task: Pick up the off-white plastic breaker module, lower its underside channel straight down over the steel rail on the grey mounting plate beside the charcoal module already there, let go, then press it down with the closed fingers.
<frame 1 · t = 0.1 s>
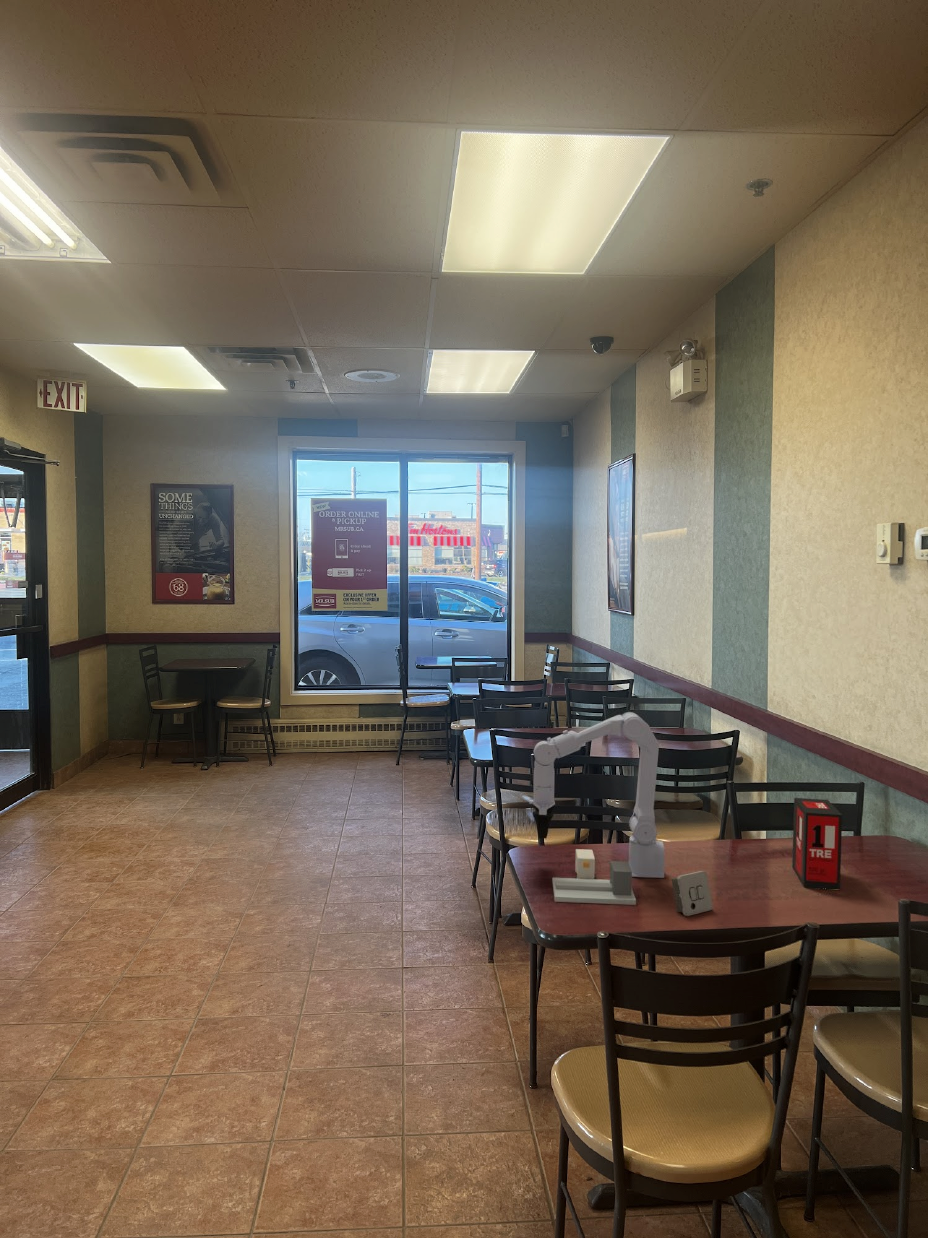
hand: (543, 834, 228), 10 cm above the table, fingers open, 7 cm apart
electrical switch: (691, 911, 201), on the table
module: (584, 875, 224), on the table
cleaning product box: (815, 879, 225), on the table
rail plate: (592, 893, 211), on the table
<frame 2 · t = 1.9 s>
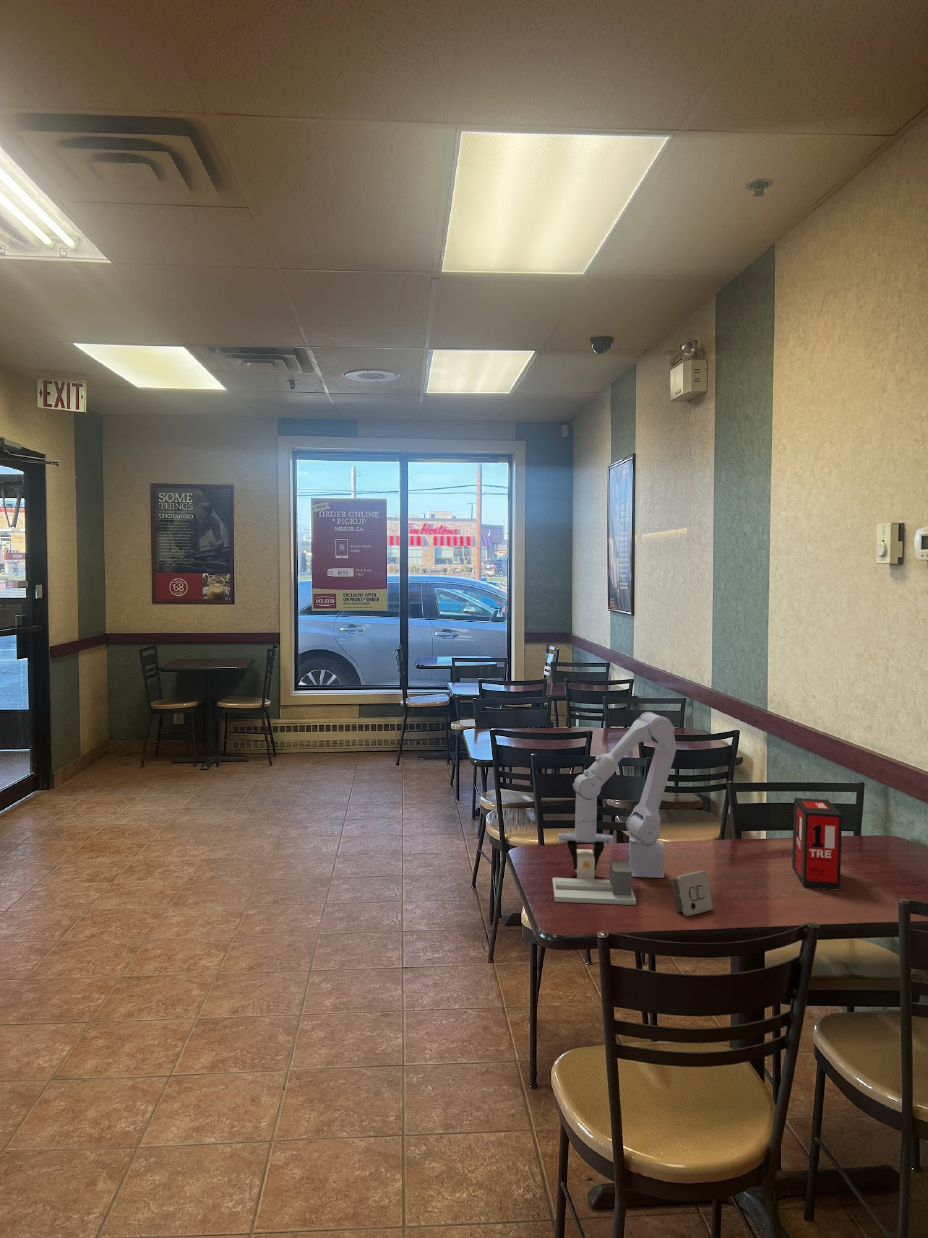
hand: (584, 868, 224), 2 cm above the table, fingers closed on module, 4 cm apart
module: (584, 875, 224), on the table, touching gripper
everything else where it was.
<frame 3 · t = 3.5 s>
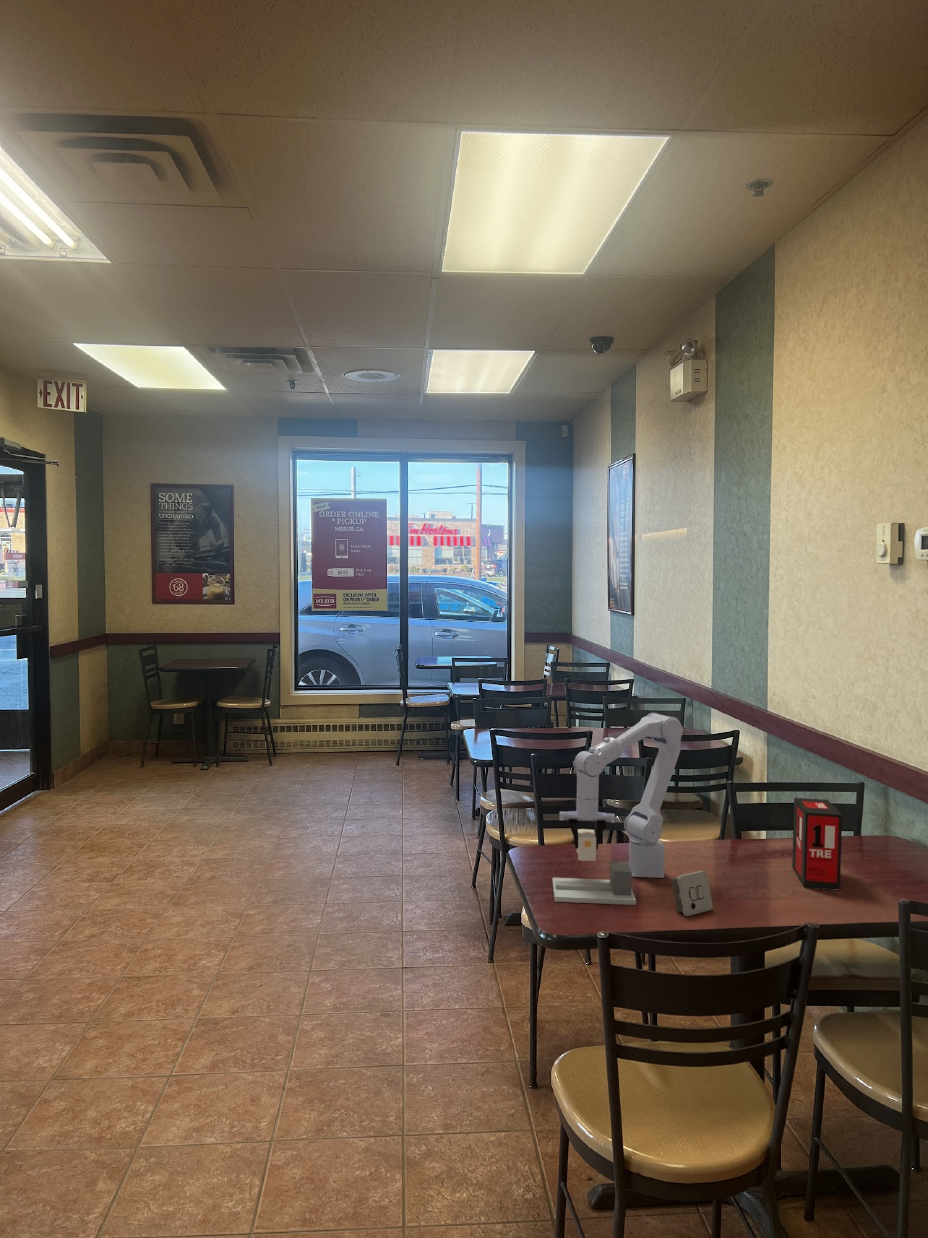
hand: (586, 847, 220), 9 cm above the table, fingers closed on module, 4 cm apart
module: (585, 856, 220), point 7 cm above the table, touching gripper
everything else where it was.
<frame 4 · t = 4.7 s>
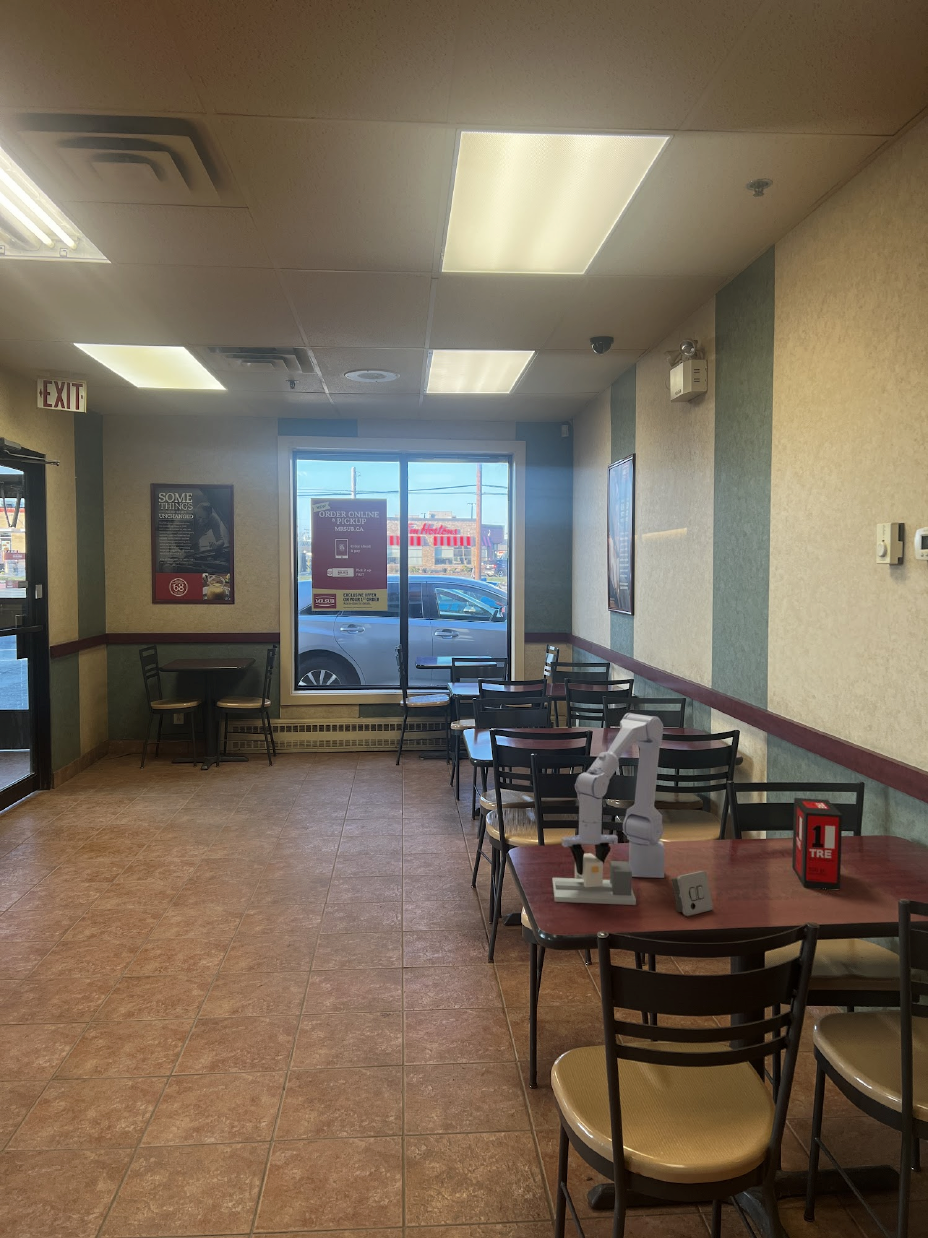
hand: (589, 873, 211), 5 cm above the table, fingers closed on module, 4 cm apart
module: (588, 881, 211), point 3 cm above the table, touching gripper
everything else where it was.
when the fingers open (4 cm above the table, at t = 5.4 s): module stays where it is, resting on rail plate.
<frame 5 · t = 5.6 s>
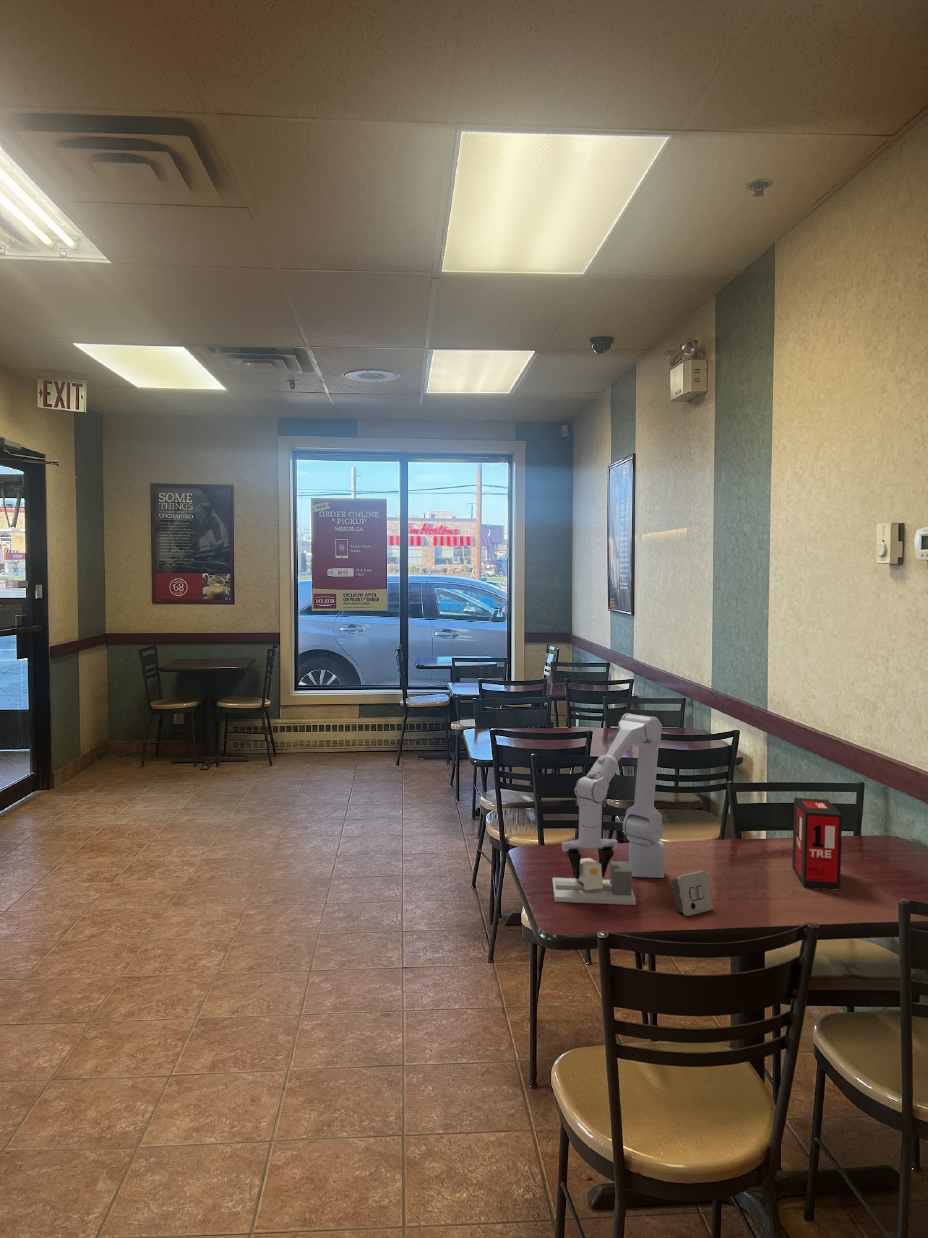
hand: (589, 877, 211), 4 cm above the table, fingers open, 6 cm apart
module: (588, 885, 211), point 2 cm above the table, tilted 8°, touching rail plate
everything else where it was.
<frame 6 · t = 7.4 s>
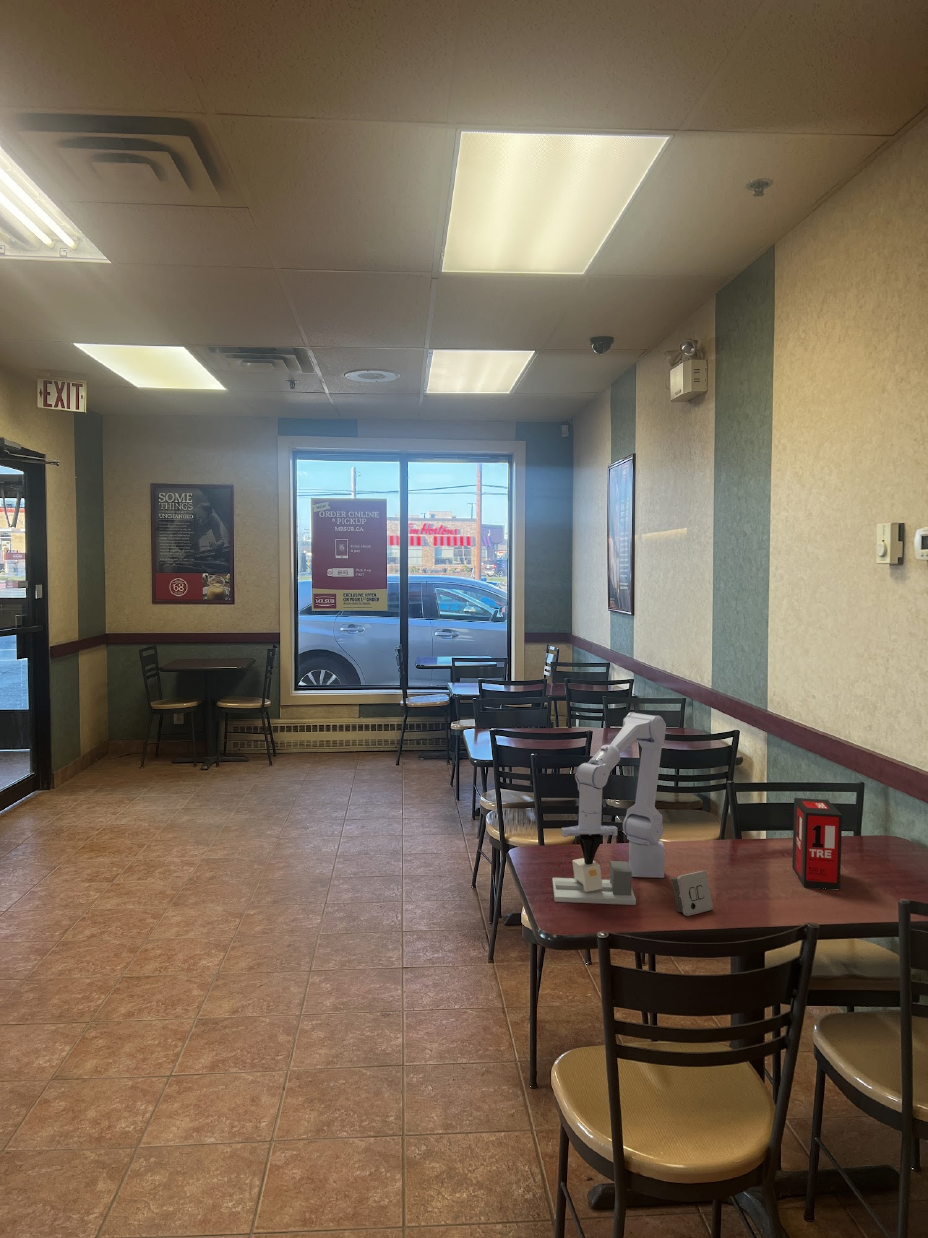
hand: (588, 863, 210), 8 cm above the table, fingers closed, pressing on module
module: (588, 885, 211), point 2 cm above the table, tilted 8°, touching gripper, rail plate
everything else where it was.
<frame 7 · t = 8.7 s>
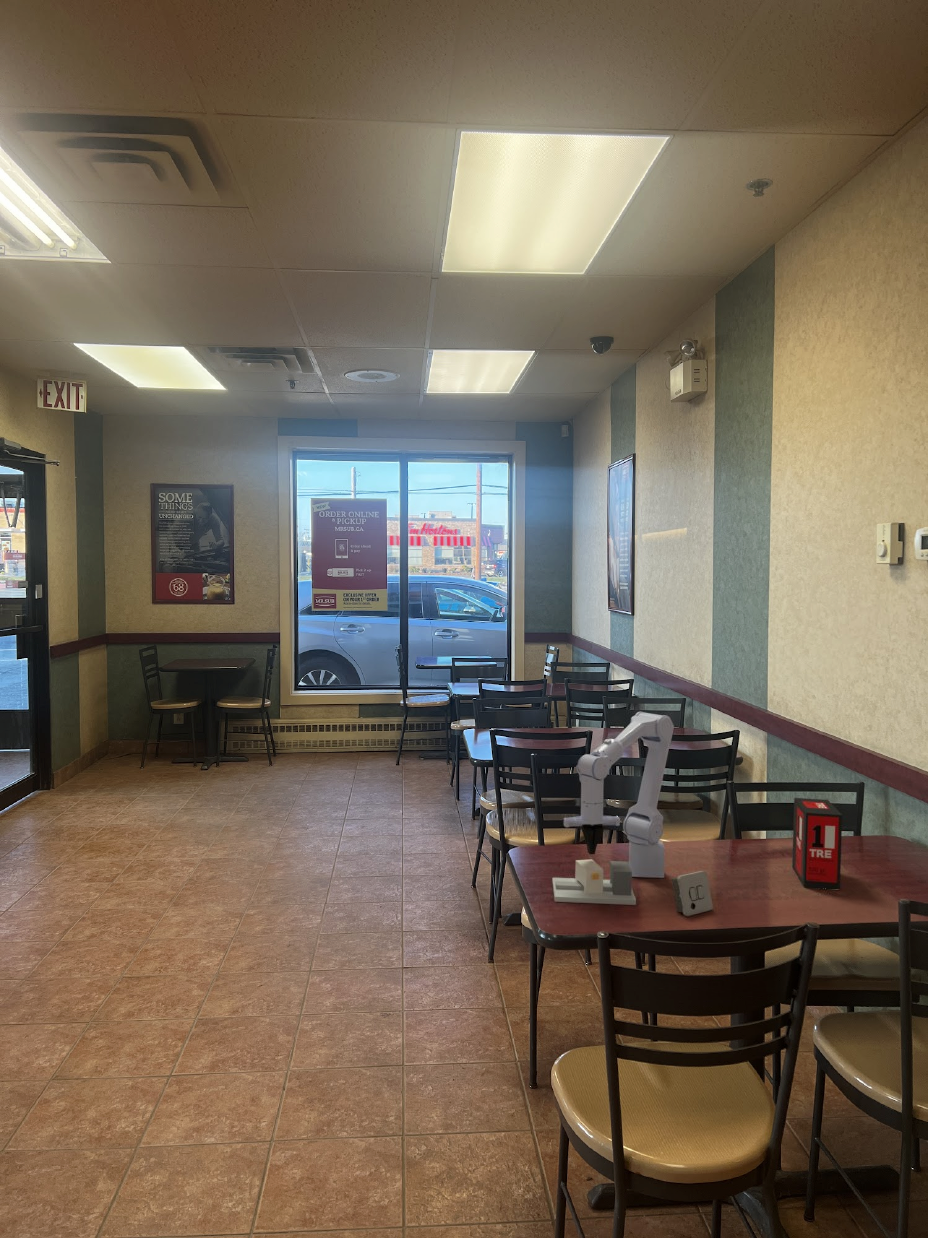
hand: (591, 853, 214), 9 cm above the table, fingers closed
module: (588, 888, 211), point 1 cm above the table, touching rail plate
everything else where it was.
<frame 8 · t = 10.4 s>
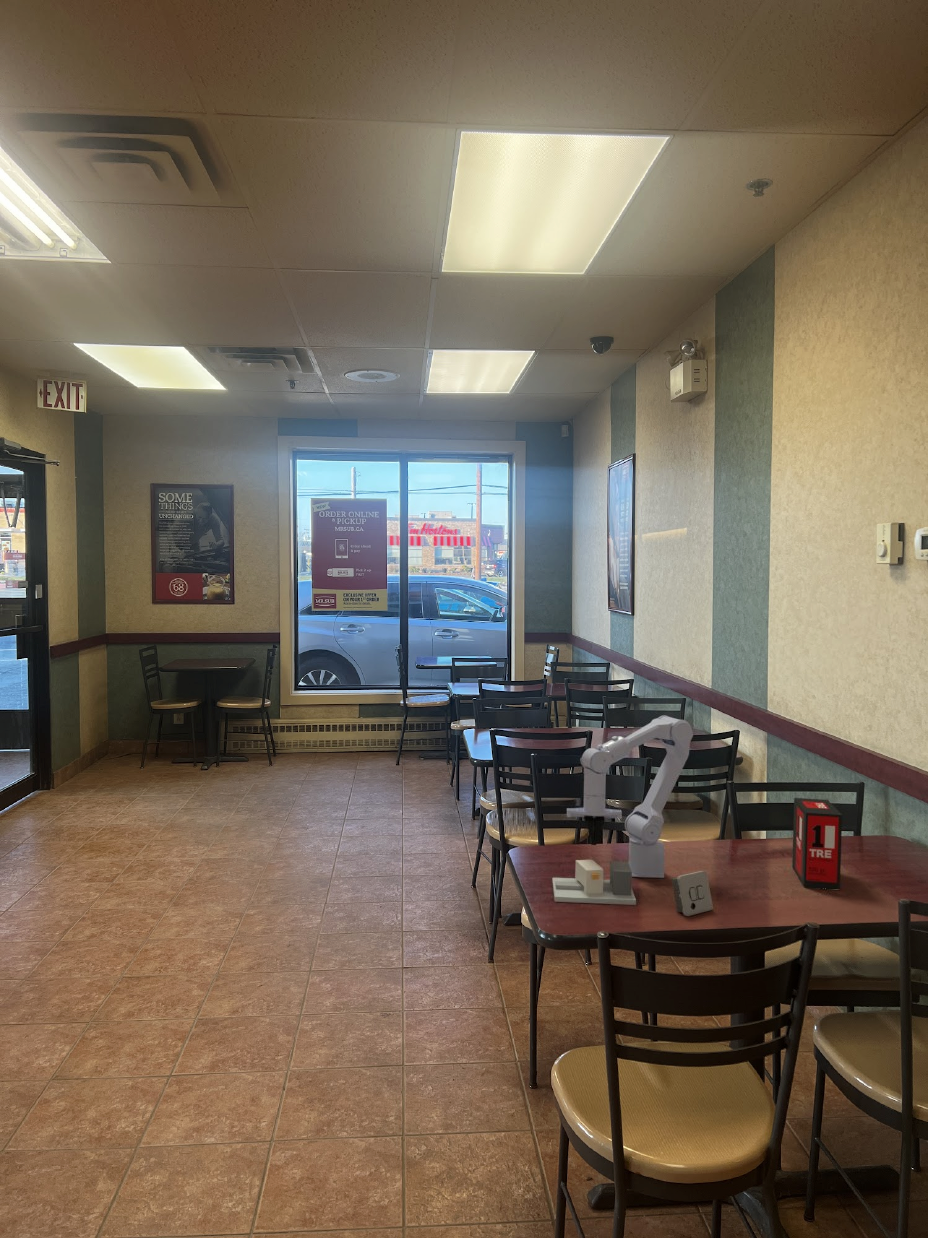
hand: (593, 844, 222), 9 cm above the table, fingers closed
nothing on the table moved.
at the end: module 1.0 cm from the target spot on the rail plate, point 1.2 cm above the rail plate's base; module tilted 0°; the gripper is holding nothing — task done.
